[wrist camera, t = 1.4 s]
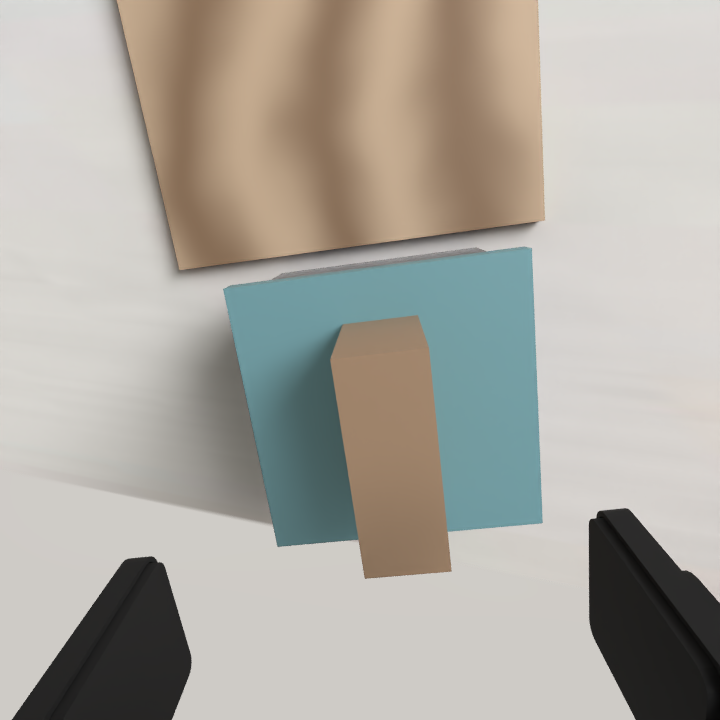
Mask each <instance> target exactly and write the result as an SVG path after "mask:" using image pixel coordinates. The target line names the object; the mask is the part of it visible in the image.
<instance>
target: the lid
mask: <svg viewBox="0 0 720 720" xmlns="http://www.w3.org/2000/svg"><path fill="white" fill-rule="evenodd" d="M223 290H224V295H225V300H226V304H227V309H228V314H229V319H230V323H231V328H232V333H233V338H234V342H235V347H236V352H237V357H238V361H239V366H240V371H241V375H242V380H243V385H244V390H245V394H246V399H247V404H248V409H249V413H250V418H251V423H252V428H253V432H254V437H255V442H256V447H257V451H258V456H259V461H260V465H261V470H262V475H263V480H264V484H265V489H266V494H267V499H268V503H269V508H270V513H271V518H272V522H273V527H274V532H275V536H276V541H277V546H278V547H280V546H291V545H302V544H314V543H325V542H335V541H348V540H359V545H360V551H361V557H362V564H363V570H364V576H365V579H367V578H378V577H391V576H402V575H414V574H426V573H438V572H450V571H451V562H450V552H449V542H448V532H449V531H460V530H471V529H482V528H494V527H505V526H516V525H527V524H539V523H542V497H541V472H540V447H539V421H538V396H537V370H536V345H535V320H534V294H533V269H532V248H528V247H518V248H511V249H503V250H495V251H488V252H480V253H473V254H465V255H458V256H450V257H443V258H435V259H428V260H420V261H412V262H405V263H397V264H390V265H382V266H375V267H367V268H360V269H352V270H345V271H337V272H329V273H322V274H314V275H307V276H299V277H292V278H284V279H277V280H269V281H261V282H254V283H246V284H239V285H231V286H229V287H227V288H225V289H223Z"/></svg>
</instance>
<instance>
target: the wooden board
mask: <svg viewBox="0 0 720 720" xmlns="http://www.w3.org/2000/svg"><path fill="white" fill-rule="evenodd" d="M117 4H118V8H119V12H120V17H121V21H122V25H123V30H124V34H125V38H126V42H127V47H128V51H129V55H130V60H131V64H132V68H133V73H134V77H135V81H136V85H137V90H138V94H139V98H140V103H141V107H142V111H143V115H144V120H145V124H146V128H147V133H148V137H149V141H150V146H151V150H152V154H153V158H154V163H155V167H156V171H157V176H158V180H159V184H160V188H161V193H162V197H163V201H164V206H165V210H166V214H167V218H168V223H169V227H170V231H171V236H172V240H173V244H174V249H175V253H176V257H177V261H178V266H179V270H184V269H192V268H199V267H206V266H214V265H221V264H228V263H236V262H243V261H250V260H258V259H265V258H272V257H280V256H287V255H294V254H302V253H309V252H316V251H324V250H331V249H338V248H346V247H353V246H361V245H368V244H375V243H383V242H390V241H397V240H405V239H412V238H419V237H427V236H434V235H441V234H449V233H456V232H463V231H471V230H478V229H485V228H493V227H500V226H507V225H515V224H522V223H529V222H537V221H544V220H545V210H544V178H543V147H542V115H541V84H540V52H539V21H538V0H117Z"/></svg>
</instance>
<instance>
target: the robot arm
mask: <svg viewBox="0 0 720 720" xmlns="http://www.w3.org/2000/svg"><path fill="white" fill-rule="evenodd" d="M589 620H590V626H591V631H592V634H593V637H594V639H595V641H596V643H597V645H598V647H599V649H600V651H601V653H602V655H603V657H604V659H605V661H606V663H607V665H608V666H609V669H610V670H611V672H612V674H613V676H614V678H615V680H616V682H617V684H618V686H619V688H620V690H621V692H622V694H623V696H624V698H625V700H626V701H627V703H628V705H629V707H630V709H631V711H632V713H633V715H634V717H635V719H636V720H720V603H719V602H718V601H717V600H716V598H715V597H714V596H713V595H712V594H711V593H710V592H709V591H708V589H707V588H706V587H705V586H704V585H703V584H702V583H701V581H700V580H699V579H698V578H697V577H696V576H695V575H693V574H692V573H691V572H688V571H681V569H680V568H679V567H678V566H677V565H676V564H675V562H674V561H673V560H672V559H671V558H670V557H669V555H668V554H667V553H666V552H665V551H664V550H663V548H662V547H661V546H660V545H659V544H658V542H657V541H656V540H655V539H654V538H653V537H652V535H651V534H650V533H649V532H648V531H647V530H646V528H645V527H644V526H643V525H642V524H641V523H640V521H639V520H638V519H637V518H636V517H635V516H634V514H633V513H632V512H631V511H630V510H629V509H626V508H624V509H614V510H604V511H599V512H598V513H597V518H596V519H591V520H590V521H589ZM190 670H191V654H190V650H189V647H188V644H187V640H186V637H185V633H184V630H183V627H182V623H181V620H180V617H179V614H178V610H177V607H176V603H175V600H174V596H173V593H172V590H171V586H170V583H169V579H168V576H167V573H166V569H165V567H164V565H163V563H160V562H159V563H158V562H157V560H156V559H155V558H154V557H141V558H131V559H127V560H125V561H124V562H123V563H122V564H121V566H120V567H119V569H118V570H117V571H116V573H115V574H114V576H113V577H112V578H111V580H110V581H109V583H108V584H107V585H106V587H105V588H104V590H103V591H102V593H101V594H100V595H99V597H98V598H97V600H96V601H95V602H94V604H93V605H92V607H91V608H90V610H89V611H88V613H87V614H86V616H85V617H84V618H83V620H82V621H81V622H80V624H79V625H78V627H77V628H76V629H75V631H74V632H73V634H72V635H71V637H70V638H69V639H68V641H67V642H66V644H65V645H64V647H63V648H62V650H61V651H60V652H59V654H58V655H57V657H56V658H55V659H54V661H53V662H52V664H51V665H50V666H49V668H48V669H47V671H46V672H45V674H44V675H43V676H42V678H41V679H40V681H39V682H38V684H37V685H36V686H35V688H34V689H33V691H32V692H31V693H30V695H29V696H28V698H27V699H26V700H25V702H24V703H23V705H22V706H21V708H20V709H19V710H18V712H17V713H16V715H15V716H14V718H13V719H12V720H172V718H173V715H174V713H175V710H176V707H177V705H178V702H179V700H180V697H181V695H182V692H183V690H184V687H185V684H186V682H187V679H188V677H189V674H190Z"/></svg>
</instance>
